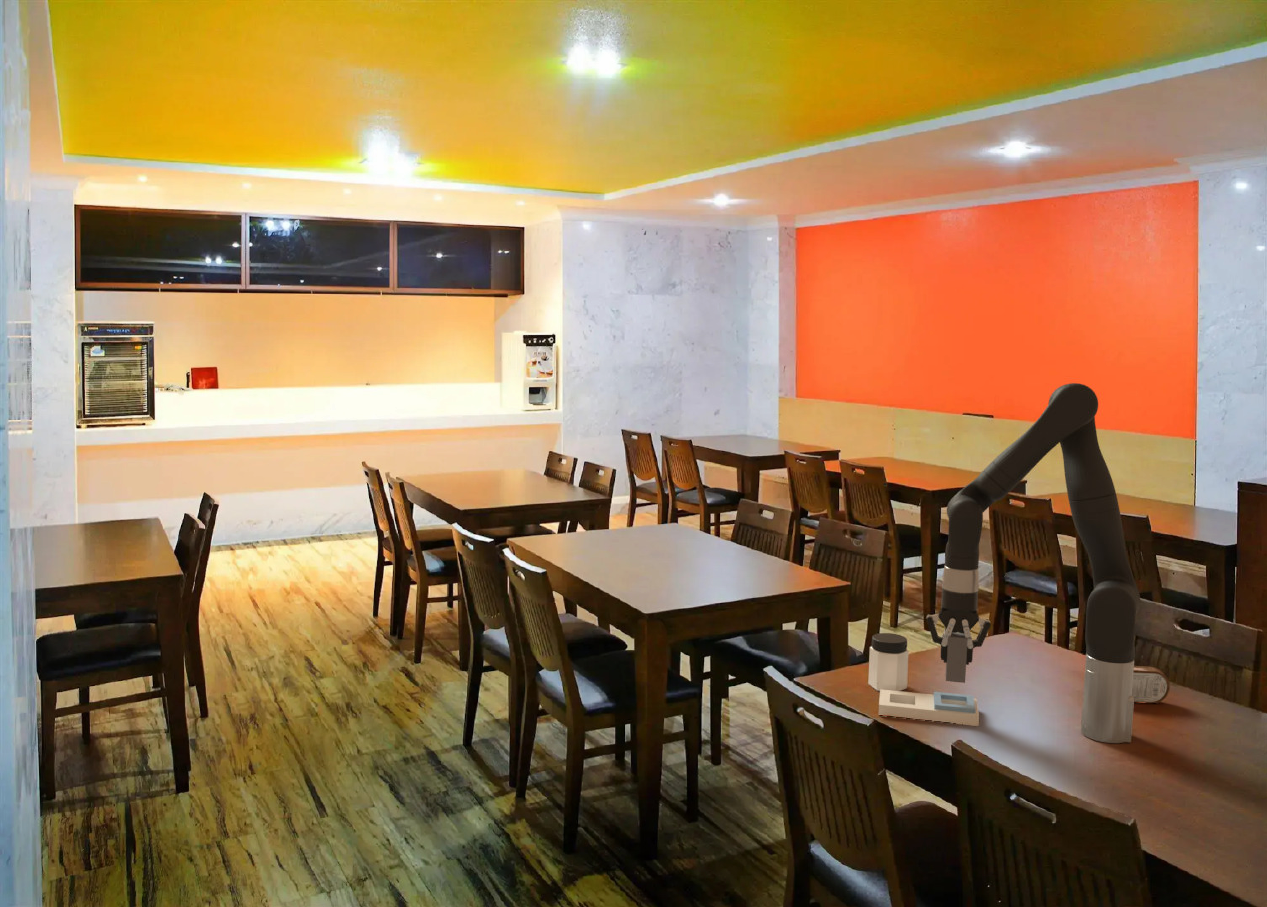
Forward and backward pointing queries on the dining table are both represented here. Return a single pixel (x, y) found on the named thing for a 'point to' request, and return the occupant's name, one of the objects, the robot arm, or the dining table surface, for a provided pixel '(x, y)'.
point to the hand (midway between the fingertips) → (955, 662)
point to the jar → (888, 662)
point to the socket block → (930, 706)
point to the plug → (956, 657)
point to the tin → (1149, 685)
